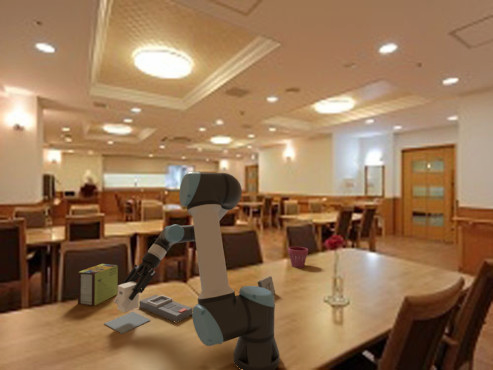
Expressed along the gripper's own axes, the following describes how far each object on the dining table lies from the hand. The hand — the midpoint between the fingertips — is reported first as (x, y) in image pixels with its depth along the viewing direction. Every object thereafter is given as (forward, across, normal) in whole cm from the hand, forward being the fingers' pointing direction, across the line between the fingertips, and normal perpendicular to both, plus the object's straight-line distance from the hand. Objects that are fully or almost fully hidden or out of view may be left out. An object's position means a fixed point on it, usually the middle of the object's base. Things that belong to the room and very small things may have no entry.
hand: (119, 304), depth 111 cm
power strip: (-8, -4, -20) cm, 22 cm away
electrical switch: (-38, -33, -51) cm, 71 cm away
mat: (+3, 0, -9) cm, 9 cm away
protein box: (0, +35, -13) cm, 37 cm away
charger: (-1, 0, -5) cm, 5 cm away
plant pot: (-81, -24, -94) cm, 126 cm away
